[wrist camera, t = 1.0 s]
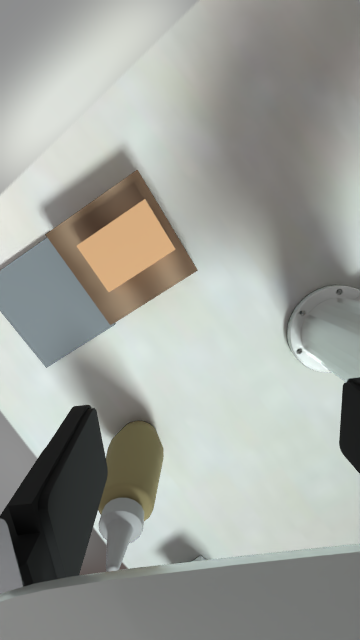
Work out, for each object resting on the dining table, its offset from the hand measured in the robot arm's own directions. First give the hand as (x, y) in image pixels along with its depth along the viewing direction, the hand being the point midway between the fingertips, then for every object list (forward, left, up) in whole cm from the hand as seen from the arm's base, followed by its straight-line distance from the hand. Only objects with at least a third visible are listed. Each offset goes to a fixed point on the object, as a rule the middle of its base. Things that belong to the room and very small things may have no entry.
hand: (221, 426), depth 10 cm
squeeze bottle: (+18, +14, -27) cm, 36 cm away
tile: (+2, -10, -24) cm, 26 cm away
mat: (+16, -10, -27) cm, 33 cm away
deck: (+3, -10, -27) cm, 29 cm away
